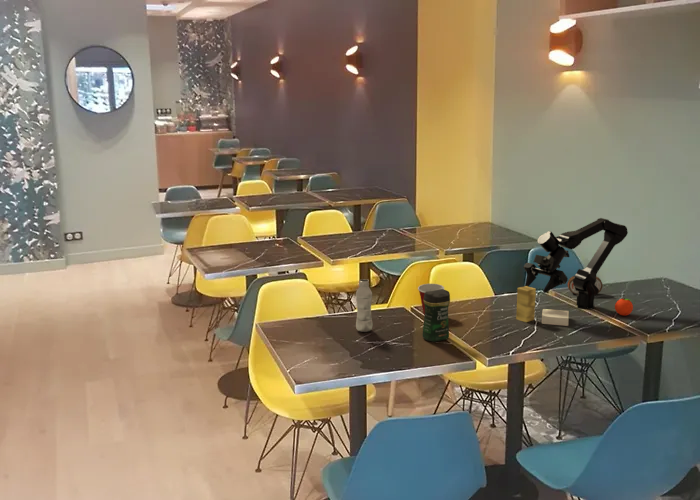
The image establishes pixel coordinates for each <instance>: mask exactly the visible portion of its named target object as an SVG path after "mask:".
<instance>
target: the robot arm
mask: <svg viewBox="0 0 700 500" xmlns="http://www.w3.org/2000/svg"><path fill="white" fill-rule="evenodd" d="M602 231H604V233H603V240H602V242H601V244H600V245H599V247H598V248H597V250H596V252H595V253H594V254H593V256H592V258H591V259H590V261H589V262H588V263H587V266H586V267H585V268H583V269H581V268H578V269H577V272H576V274H575V275H573V276H574V279H573V285H574V286H575V290H576V291H579V293H578V294H576V306H577V308H578V309H589V310H590V309H591V310H593V309H594V308H595V306H594V303H595V296H596V295H597V296H598V294H599V293H600V292H599V289H598V288H597V287H596V286H595V285H594V284H595V282H596V277H597V273H599V270H600V269H601V268H602V267H603V264H604V263H605V261H606V260H607V259H608V256H609V255H610V253H612V251H613V249H614V248H615V246H617V245H618V244H620V243H622V241H624V239H625V238H626V237H627V236H628V233H629V231H628V227H627V226H626V225H625V224H620V223H615V222H613V221H611V220H610V219H607V218H603V217H600V218H597V219H596V220H594V221H592V222H589V223H588V224H586V225H585V226H582V227H580V228H579V229H578V228H577V229H576V230H571V231H566V232H563V233H560V234H559V235H558V236H555V234H554V233H553V232H552V231H550V230H548V231H547V232H544V233H542V235H540V236H538V238H537V243H538V244H539V246H541V248H542V249H543V250H544V251H545V252H546V253H548V255H547V256H546V255H545V256H544V255H539V254H535V256H534V259H533V263H530V262H526V263H524V265H523V270H524V271H525V272H526V280H525V283H524V284H525V285H524V286H528V287H530V285H531V284H532V283H533V282H534V281H535V280H536V279H537V276H538V275H542V276H547V277H549V280H548V282H547V284H546V285H545V286H544V289H543V291H542V292H543V293H544V294H546V293H548V292H549V291H551V290H553V289H554V288H556V287H558V286H562V285H567V283H568V281H569V279H568V276H567V275H566V273H565V272H564V271H563V270H560V268H561V262H562V261H563V259H564V258H570V253H569V250H573V249H576V248H578V246H580V245H581V243H582V242H583V241H584V240H586V239H588V238H590V237H592V236H593V235H594V236H595V235H596V234H598V233H599V232H602ZM566 249H568V250H566ZM534 263H535V264H537V266H538V267H539V268H538V267H537V266H536V265H535V264H534ZM598 292H599V293H598Z"/></svg>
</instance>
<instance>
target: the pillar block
mask: <svg viewBox="0 0 700 500" xmlns="http://www.w3.org/2000/svg"><path fill="white" fill-rule="evenodd" d="M516 291H517V292H516V293H517V294H516V312H515V314H516V316H515V319H516V320H517V321H520V322H523V323H528V322H532V321H534V320H535V314H536V313H535V311H536V295H537V294H536V293H537V288H535V287H532V286H531V287H530V286H525V285H523V286H520V287H517V290H516Z"/></svg>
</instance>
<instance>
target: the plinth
mask: <svg viewBox="0 0 700 500" xmlns="http://www.w3.org/2000/svg"><path fill="white" fill-rule="evenodd" d="M569 313H570V312H569V310H560V309H551V308H550V309H547V308H543V309H542V313H541V324H542V325H543V324H544V325H553V326H554V325H555V326H566V327H569Z"/></svg>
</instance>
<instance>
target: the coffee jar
mask: <svg viewBox="0 0 700 500" xmlns="http://www.w3.org/2000/svg"><path fill="white" fill-rule="evenodd" d="M450 295H451V293H450V292H449V291H448V290H446V289H445V288H444V289H440V290H434V291H427V292H425V293H424V305H425V315H424V314H423V316H424V317H423V325H422V333H421V335H422V338H423V339H424V340H425V341H427V342H429V341H430V342H433V343H434V342H439V341H440V342H441V341H445V340H448V339H449V338H450V326H449V306H450V303H451V296H450Z"/></svg>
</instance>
